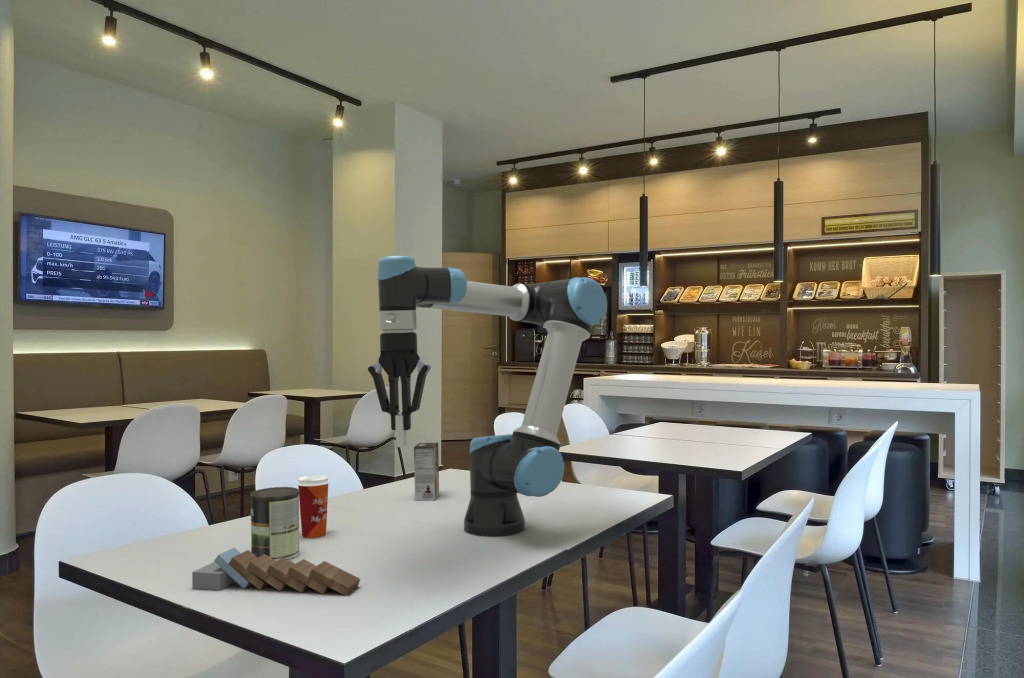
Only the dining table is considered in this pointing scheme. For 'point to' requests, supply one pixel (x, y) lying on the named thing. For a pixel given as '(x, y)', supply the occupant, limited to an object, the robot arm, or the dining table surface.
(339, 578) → the domino
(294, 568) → the domino
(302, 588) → the domino
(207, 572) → the block
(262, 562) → the domino
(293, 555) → the coffee can
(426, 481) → the coffee box
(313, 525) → the paper cup
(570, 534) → the dining table surface
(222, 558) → the domino
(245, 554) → the domino
